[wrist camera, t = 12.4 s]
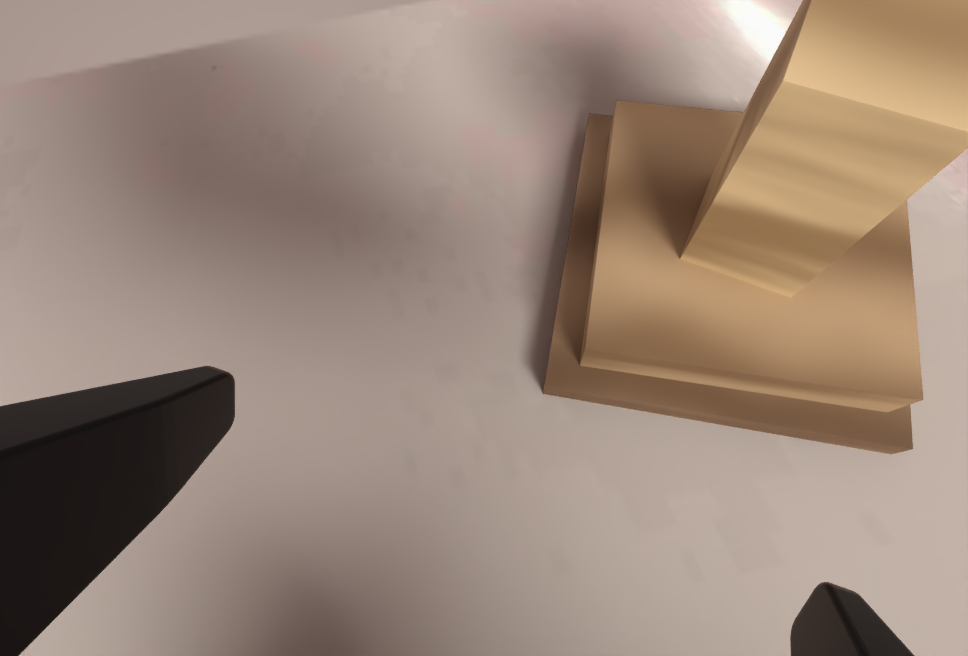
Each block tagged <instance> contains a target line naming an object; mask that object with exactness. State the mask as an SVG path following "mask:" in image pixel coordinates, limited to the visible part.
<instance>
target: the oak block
mask: <svg viewBox="0 0 968 656" xmlns="http://www.w3.org/2000/svg"><path fill="white" fill-rule="evenodd" d="M967 148H968V0H803V1H802V3H801V5H800V7H799V9H798V11H797V13H796V15H795V17H794V18H793V20H792V22H791V24H790V26H789V28H788V30H787V32H786V34H785V35H784V37H783V39H782V41H781V43H780V45H779V47H778V49H777V51H776V53H775V54H774V56H773V58H772V60H771V62H770V64H769V66H768V68H767V70H766V72H765V73H764V75H763V77H762V79H761V81H760V83H759V85H758V87H757V89H756V90H755V92H754V94H753V96H752V98H751V100H750V102H749V104H748V106H747V108H746V109H745V111H744V113H743V115H742V117H741V119H740V121H739V123H738V125H737V127H736V128H735V130H734V132H733V134H732V136H731V138H730V140H729V142H728V144H727V145H726V147H725V149H724V151H723V153H722V155H721V157H720V159H719V161H718V163H717V164H716V166H715V168H714V170H713V172H712V175H711V178H710V180H709V183H708V186H707V188H706V191H705V194H704V196H703V199H702V202H701V204H700V207H699V210H698V212H697V215H696V217H695V220H694V223H693V225H692V228H691V231H690V233H689V236H688V239H687V241H686V244H685V247H684V249H683V252H682V255H681V257H680V259H681V260H684V261H686V262H689V263H692V264H695V265H698V266H701V267H704V268H707V269H709V270H712V271H715V272H718V273H721V274H724V275H727V276H730V277H732V278H735V279H738V280H741V281H744V282H747V283H750V284H753V285H755V286H758V287H761V288H764V289H767V290H770V291H773V292H776V293H778V294H781V295H784V296H787V297H790V298H791V297H792V296H793V295H794V294H796V293H797V292H798V291H799V290H800V289H802V288H803V287H804V286H805V285H806V284H807V283H809V282H810V281H811V280H812V279H813V278H815V277H816V276H817V275H818V274H819V273H820V272H822V271H823V270H824V269H825V268H826V267H828V266H829V265H830V264H831V263H832V262H833V261H835V260H836V259H837V258H838V257H839V256H841V255H842V254H843V253H844V252H845V251H846V250H848V249H849V248H850V247H851V246H852V245H854V244H855V243H856V242H857V241H858V240H859V239H861V238H862V237H863V236H864V235H865V234H867V233H868V232H869V231H870V230H871V229H872V228H874V227H875V226H876V225H877V224H878V223H880V222H881V221H882V220H883V219H884V218H885V217H887V216H888V215H889V214H890V213H891V212H893V211H894V210H895V209H896V208H897V207H898V206H900V205H901V204H902V203H903V202H904V201H906V200H907V199H908V198H909V197H910V196H911V195H913V194H914V193H915V192H916V191H917V190H919V189H920V188H921V187H922V186H923V185H924V184H926V183H927V182H928V181H929V180H930V179H932V178H933V177H934V176H935V175H936V174H937V173H939V172H940V171H941V170H942V169H943V168H945V167H946V166H947V165H948V164H949V163H950V162H952V161H953V160H954V159H955V158H956V157H958V156H959V155H960V154H961V153H962V152H963V151H965V150H966V149H967Z"/></svg>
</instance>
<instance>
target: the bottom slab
mask: <svg viewBox="0 0 968 656" xmlns="http://www.w3.org/2000/svg"><path fill="white" fill-rule="evenodd" d="M612 120H613V116H607V115H598V114H589V117H588V123H587V129H586V135H585V141H584V148H583V154H582V160H581V166H580V172H579V178H578V184H577V190H576V196H575V202H574V208H573V214H572V220H571V226H570V232H569V238H568V244H567V251H566V257H565V263H564V269H563V275H562V281H561V287H560V293H559V299H558V305H557V311H556V317H555V323H554V329H553V335H552V341H551V347H550V354H549V360H548V366H547V372H546V378H545V384H544V391H543V394H548V395H554V396H559V397H565V398H571V399H577V400H582V401H588V402H594V403H600V404H605V405H611V406H617V407H623V408H628V409H634V410H640V411H646V412H651V413H657V414H663V415H669V416H674V417H680V418H686V419H692V420H697V421H703V422H709V423H715V424H720V425H726V426H732V427H738V428H743V429H749V430H755V431H761V432H766V433H772V434H778V435H784V436H789V437H795V438H801V439H807V440H812V441H818V442H824V443H830V444H835V445H841V446H847V447H853V448H858V449H864V450H870V451H876V452H881V453H887V454H894V453H899V452H903V451H907V450H911V449H913V443H912V427H911V411H910V405H907V406H904V407H901V408H898V409H895V410H893V411H890V412H881V411H874V410H868V409H861V408H855V407H848V406H841V405H835V404H828V403H822V402H815V401H809V400H802V399H796V398H789V397H782V396H776V395H769V394H763V393H756V392H750V391H743V390H737V389H730V388H724V387H717V386H710V385H704V384H697V383H691V382H684V381H678V380H671V379H665V378H658V377H651V376H645V375H638V374H632V373H625V372H619V371H612V370H606V369H599V368H593V367H586V366H580V360H581V352H582V344H583V337H584V329H585V321H586V313H587V306H588V298H589V290H590V282H591V275H592V267H593V259H594V251H595V244H596V236H597V228H598V220H599V213H600V205H601V197H602V190H603V182H604V174H605V166H606V159H607V151H608V143H609V135H610V130H611V125H612Z"/></svg>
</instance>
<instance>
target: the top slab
mask: <svg viewBox="0 0 968 656" xmlns="http://www.w3.org/2000/svg"><path fill="white" fill-rule="evenodd" d="M742 115H743V112H733V111H723V110H712V109H702V108H691V107H681V106H671V105H660V104H650V103H639V102H629V101H619V100H617V101H616V106H615V111H614V116H613V120H612V125H611V130H610V135H609V143H608V151H607V159H606V166H605V174H604V182H603V190H602V197H601V205H600V213H599V220H598V228H597V236H596V244H595V251H594V259H593V267H592V275H591V282H590V290H589V298H588V306H587V313H586V321H585V329H584V337H583V344H582V352H581V360H580V366H586V367H593V368H599V369H606V370H612V371H619V372H625V373H632V374H638V375H645V376H651V377H658V378H665V379H671V380H678V381H684V382H691V383H697V384H704V385H710V386H717V387H724V388H730V389H737V390H743V391H750V392H756V393H763V394H769V395H776V396H782V397H789V398H796V399H802V400H809V401H815V402H822V403H828V404H835V405H841V406H848V407H855V408H861V409H868V410H874V411H881V412H890V411H893V410H895V409H898V408H901V407H904V406H907V405H910V404H912V403H915V402H918V401H921V400H923V390H922V378H921V366H920V354H919V342H918V330H917V317H916V305H915V293H914V281H913V269H912V257H911V245H910V233H909V221H908V208H907V200H906V201H904V202H903V203H902V204H901V205H900V206H898V207H897V208H896V209H895V210H894V211H893V212H891V213H890V214H889V215H888V216H887V217H885V218H884V219H883V220H882V221H881V222H880V223H878V224H877V225H876V226H875V227H874V228H872V229H871V230H870V231H869V232H868V233H867V234H865V235H864V236H863V237H862V238H861V239H859V240H858V241H857V242H856V243H855V244H854V245H852V246H851V247H850V248H849V249H848V250H846V251H845V252H844V253H843V254H842V255H841V256H839V257H838V258H837V259H836V260H835V261H833V262H832V263H831V264H830V265H829V266H828V267H826V268H825V269H824V270H823V271H822V272H820V273H819V274H818V275H817V276H816V277H815V278H813V279H812V280H811V281H810V282H809V283H807V284H806V285H805V286H804V287H803V288H802V289H800V290H799V291H798V292H797V293H796V294H794V295H793V296H792V297H791V298H790V297H787V296H784V295H781V294H778V293H776V292H773V291H770V290H767V289H764V288H761V287H758V286H755V285H753V284H750V283H747V282H744V281H741V280H738V279H735V278H732V277H730V276H727V275H724V274H721V273H718V272H715V271H712V270H709V269H707V268H704V267H701V266H698V265H695V264H692V263H689V262H686V261H684V260H681V259H680V257H681V255H682V252H683V249H684V247H685V244H686V241H687V239H688V236H689V233H690V231H691V228H692V225H693V223H694V220H695V217H696V215H697V212H698V210H699V207H700V204H701V202H702V199H703V196H704V194H705V191H706V188H707V186H708V183H709V180H710V178H711V175H712V172H713V170H714V168H715V166H716V164H717V163H718V161H719V159H720V157H721V155H722V153H723V151H724V149H725V147H726V145H727V144H728V142H729V140H730V138H731V136H732V134H733V132H734V130H735V128H736V127H737V125H738V123H739V121H740V119H741V117H742Z"/></svg>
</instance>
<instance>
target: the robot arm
mask: <svg viewBox="0 0 968 656" xmlns="http://www.w3.org/2000/svg"><path fill="white" fill-rule="evenodd" d="M234 417H235V381H234V378H233V376H232V375H231V374H230V373H229V372H226V371H223V370H221V369H218V368H215V367H211V366H204V367H199V368H193V369H188V370H183V371H178V372H173V373H168V374H163V375H158V376H153V377H147V378H142V379H137V380H132V381H127V382H122V383H117V384H112V385H107V386H101V387H96V388H91V389H86V390H81V391H76V392H71V393H66V394H61V395H55V396H50V397H45V398H40V399H35V400H30V401H25V402H20V403H15V404H10V405H4V406H0V656H19V655H20V654H21V653H22V652H23V651H24V650H25V649H26V648H27V647H28V646H29V645H30V644H31V643H32V642H33V641H34V640H35V639H36V638H37V636H38V635H39V634H40V633H41V632H42V631H43V630H44V629H45V628H46V627H47V626H48V625H49V624H50V623H51V622H52V621H53V620H54V619H55V618H56V617H57V616H58V615H59V614H60V613H61V612H62V611H63V610H64V609H65V608H66V607H67V606H68V605H69V604H70V603H71V602H72V601H73V600H74V599H75V598H76V597H77V596H78V595H79V594H80V593H81V592H82V591H83V590H84V589H85V588H86V587H87V586H88V585H89V584H90V583H91V582H92V581H93V580H94V579H95V578H96V577H97V576H98V575H99V574H100V573H101V572H102V571H103V570H104V569H105V568H106V567H107V566H108V565H109V564H110V563H111V562H112V561H113V560H114V559H115V558H116V557H117V556H118V555H119V554H120V553H121V552H122V551H123V550H124V549H125V548H126V547H127V546H128V545H129V544H130V543H131V542H132V541H133V540H134V539H135V538H136V537H137V536H138V535H139V534H140V533H141V532H142V531H143V529H144V528H145V527H146V526H147V525H148V524H149V523H150V522H151V521H152V520H153V519H154V518H155V517H156V516H157V515H158V514H159V513H160V512H161V511H162V510H163V509H164V508H165V507H166V506H167V505H168V504H169V502H170V501H171V500H172V499H173V498H174V497H175V496H176V494H177V493H178V492H179V491H180V490H181V489H182V487H183V486H184V485H185V484H186V482H187V481H188V480H189V479H190V477H191V476H192V475H193V474H194V473H195V471H196V470H197V469H198V468H199V466H200V465H201V464H202V463H203V462H204V460H205V459H206V458H207V457H208V455H209V454H210V453H211V452H212V450H213V449H214V448H215V447H216V446H217V444H218V443H219V442H220V441H221V439H222V438H223V437H224V436H225V435H226V433H227V432H228V431H229V429H230V428H231V426H232V424H233V421H234ZM790 641H791V656H914V655H913V654H912V652H911V651H910V650H909V649H908V648H907V647H906V646H905V645H904V644H903V643H902V641H901V640H900V639H899V638H898V637H897V636H896V635H895V634H894V633H893V631H892V630H891V629H890V628H889V627H888V626H887V625H886V624H885V623H884V622H883V620H882V619H881V618H880V617H879V616H878V615H877V614H876V613H875V612H874V610H873V609H872V608H871V607H870V606H869V605H868V604H867V603H866V602H865V601H864V599H863V598H862V597H861V596H860V595H859V594H857V593H856V592H854V591H852V590H849V589H846V588H843V587H840V586H837V585H834V584H832V583H829V582H823V583H820V584H819V585H818V586H817V587H816V588H815V589H814V591H813V592H812V594H811V595H810V597H809V598H808V600H807V602H806V603H805V605H804V606H803V608H802V609H801V611H800V612H799V614H798V615H797V617H796V619H795V620H794V623H793V625H792V629H791V637H790Z"/></svg>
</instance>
